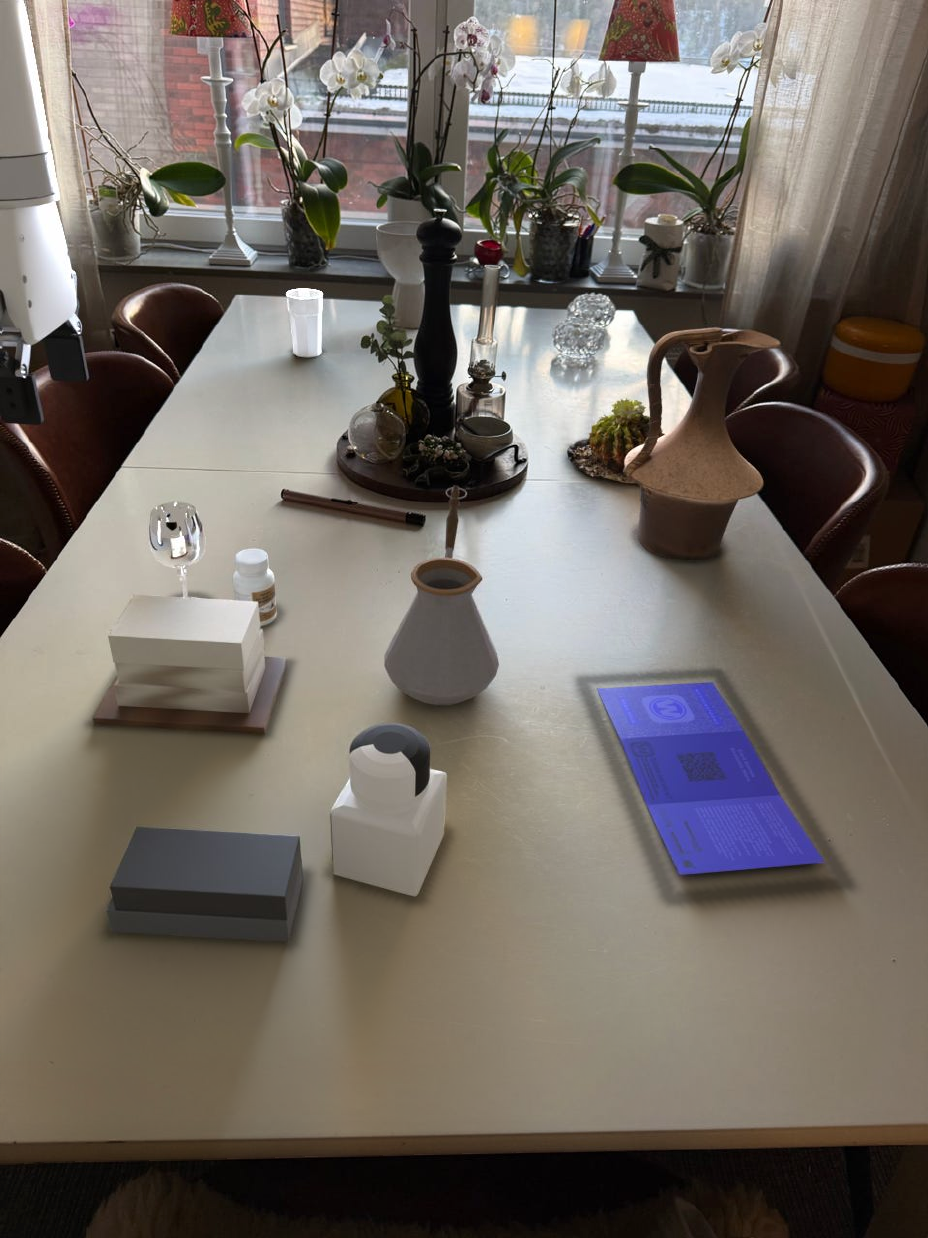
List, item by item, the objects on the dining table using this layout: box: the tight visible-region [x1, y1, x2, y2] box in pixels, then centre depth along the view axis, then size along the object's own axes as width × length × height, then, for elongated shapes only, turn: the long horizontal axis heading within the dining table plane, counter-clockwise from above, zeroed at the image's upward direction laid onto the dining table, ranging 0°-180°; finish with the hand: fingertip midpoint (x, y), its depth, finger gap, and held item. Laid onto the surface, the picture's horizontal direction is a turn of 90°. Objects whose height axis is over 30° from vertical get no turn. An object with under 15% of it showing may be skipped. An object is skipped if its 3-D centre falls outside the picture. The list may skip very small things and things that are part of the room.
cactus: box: [566, 397, 666, 484], centre depth 140 cm, size 17×16×10 cm
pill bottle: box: [232, 548, 278, 627], centre depth 101 cm, size 4×4×8 cm
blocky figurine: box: [329, 722, 448, 897], centre depth 73 cm, size 7×7×12 cm
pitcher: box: [623, 327, 781, 562], centre depth 115 cm, size 18×17×28 cm
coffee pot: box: [383, 484, 500, 706], centre depth 95 cm, size 21×12×15 cm, turn 177°
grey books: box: [106, 826, 304, 943], centre depth 70 cm, size 13×6×5 cm, turn 88°
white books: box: [92, 628, 288, 735], centre depth 90 cm, size 16×11×6 cm
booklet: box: [596, 681, 825, 876], centre depth 86 cm, size 12×25×1 cm, turn 8°
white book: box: [107, 594, 261, 670], centre depth 88 cm, size 12×7×3 cm, turn 88°
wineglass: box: [148, 501, 207, 598], centre depth 101 cm, size 6×6×12 cm
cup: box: [285, 288, 324, 358], centre depth 175 cm, size 7×7×11 cm
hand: (48, 400), depth 79 cm, fingers open, 9 cm apart
